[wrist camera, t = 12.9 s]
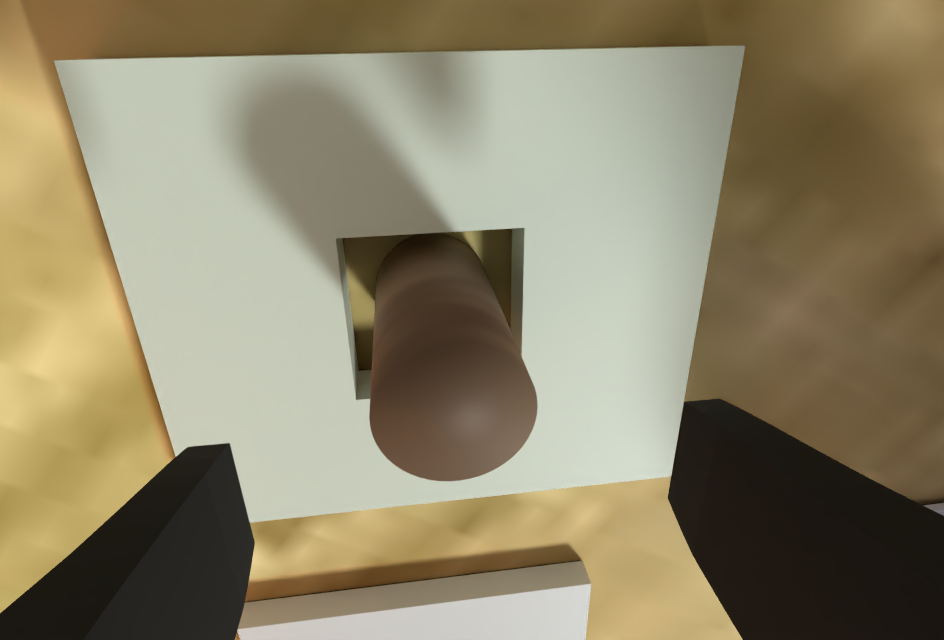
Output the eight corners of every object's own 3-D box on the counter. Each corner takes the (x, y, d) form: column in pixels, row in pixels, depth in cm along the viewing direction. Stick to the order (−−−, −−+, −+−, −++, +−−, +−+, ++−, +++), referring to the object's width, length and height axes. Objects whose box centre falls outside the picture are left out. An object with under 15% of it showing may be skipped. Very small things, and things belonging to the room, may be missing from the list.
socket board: (710, 45, 14) (745, 45, 12) (650, 445, 19) (671, 476, 18) (90, 58, 12) (53, 60, 11) (212, 490, 17) (197, 528, 16)
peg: (491, 235, 15) (547, 341, 10) (482, 336, 16) (527, 478, 11) (375, 231, 15) (368, 340, 9) (375, 336, 16) (369, 484, 11)
